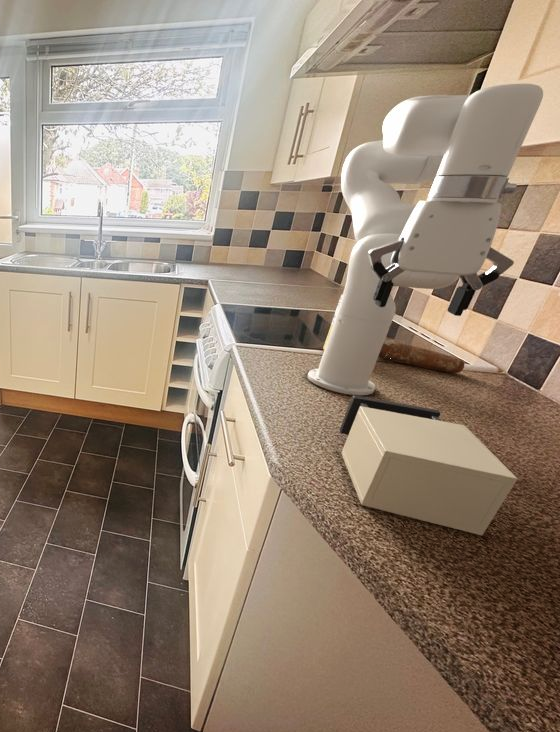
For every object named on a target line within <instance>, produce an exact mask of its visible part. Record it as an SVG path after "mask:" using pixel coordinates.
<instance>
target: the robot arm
mask: <svg viewBox="0 0 560 732" xmlns="http://www.w3.org/2000/svg"><path fill="white" fill-rule="evenodd" d="M543 98H544V89H543V88H542V87H541V86H540V85H537V84H534V83H507V84H499V85H493V86H487V87H484V88H481V89H478V90H476V91H475V92H473V93H471V94H461V95H460V94H457V95H456V94H455V95H453V94H452V95H450V94H435V95H418V96H413V97H410V98H408V99H404V100H403V101H401V102H399V103H398V104H396V105H395V106H394V107H393V108H392V109H391V110H390V111H389V112H388V113H387V114H386V115H385V118H384V120H383V122H382V128H381V129H382V130H381V131H382V135H383V136H382V140H381V139H380V140H374V141H368V142H364V143H362V144H360V145H357V146H356V147H355V148H353V149H352V150H351V151H350V152H349V154H347V156H346V158H345V160H344V162H343V165H342V169H341V176H340V177H341V178H340V189H341V193H342V196H343V199H344V201H345V203H346V205H347V207H348V209H349V210H350V213H351V220H352V228H353V229H352V230H353V235H354V239H355V243H356V244H355V245H354V246H353V248H352V250H351V253H350V256H349V260H348V268H347V274H346V280H345V283H344V284H345V285H344V288H343V292H342V295H343V296H342V299H341V302H340V305H339V308H338V311H337V314H336V317H335V320H334V323H333V326H332V329H331V332H330V335H329V338H328V341H327V344H326V347H325V350H323V354H322V356H321V359H320V363H319V364H318V365H319V366H318V368H313V369H310V370H309V371H308V373H307V379H308V380H309V381H310V382H311V383H313V384H314V385H316V386H318V387H320V388H322V389H325V390H327V391H331V392H335V393H339V394H343V395H349V396H353V395H355V396H369V395H372V394H374V392H375V390H376V385H375V383H373V382H372V381H371V380H370V379H371V376H372V373H373V370H374V368H375V366H376V364H377V360H378V358H379V357H378V356H379V353H380V351H381V348H382V346H383V343H384V341H385V338H386V337H387V336H388V333H389V330H390V327H391V325H392V322H393V320H394V318H395V315H396V311H397V306H396V302H395V300H394V298H393V296H392V294H391V292H392V289H393V287H402V288H413V289H423V290H424V289H425V290H439V289H443V288H447V287H449V286H451V285H453V284H454V283H455V282H457V281H458V280H459V279H460V281H461V283H462V285H459V286H458V287H456V289H455V292H454V294H453V296H452V298H451V301H450V303H449V305H448V307H447V310H446V311H447V312H448V313H449V314H451V315H453V316H456V317H457V316H458V317H461V316H462V314H463V312H464V311H467V310H468V308H469V307H470V304H471V302H472V300H473V298H474V296H475V293H476V291H479V290H481V289H482V288H483V287H484V286H486V285H488V284H490V283H492V282H494V281H496V280H498V279H499V277H500V276H501V275H503V274H504V273H505V272H506V271H507V270H509V269H510V268H511V267H513V265H514V264H515V261H514V260H513V259H512V258H510V257H508V256H506V255H505V254H503V253H501V252H500V251H499V250H496V249H495V248H493V247H491V246H492V243H493V241H494V238H495V235H496V232H497V228H498V225H499V221H500V216H501V210H502V203H500V202H499V203H497V202H498V200H499V199H501V198H502V196H505V195H513V194H514V193H515V192H516V190H517V187H518V184H517V183H511V182H510V181H509V180H510V178H509V175H510V173H511V171H512V168H513V166H514V164H515V161H516V160H517V157H518V155H519V153H520V150H521V148H522V146H523V145H524V142H525V139H526V137H527V135H528V132H529V131H530V128H531V126H532V124H533V122H534V119H535V118H536V116H537V115H536V114H537V112H538V110H539V108H540V106H541V104H542V101H543ZM433 178H434V180H433V183H432V185H431V188H430V191H429V193H428V196H427V198H426V200H419V201H418V202H417V204H411V203H402V201H401V197H400V195H399V194H400V193H398V190H396V189H395V188H394V187H393V186H392V185H390V184H402V185H403V184H404V185H418V184H425V183H427V182H430V181H431V180H432V179H433ZM486 259H487V260H488V261H490V262H491V263H493V264H492V266H491V267H490V269H488V270H486V271H484V272H482V273H480V274H478V272H479V271H480V270H481V269H482V267H483V265H484V263H485V262H486Z"/></svg>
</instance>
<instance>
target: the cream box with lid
mask: <svg viewBox="0 0 560 732" xmlns="http://www.w3.org/2000/svg"><path fill="white" fill-rule="evenodd" d="M340 453H341V456H342V459H343V461H344V464H345V467H346V469H347V471H348V474H349V477H350V479H351V482H352V485H353V487H354V490H355V492H356V496H357V498H358V500H359V503H360V505H361V506H364V507H367V508H372V509H375V510H380V511H383V512H388V513H392V514H395V515H399V516H403V517H407V518H411V519H415V520H419V521H423V522H426V523H431V524H435V525H439V526H443V527H446V528H450V529H454V530H458V531H462V532H467V533H470V534H474V535H478V536H483V535H484V533H485V531H487V529H488V527H489V525H490V524H491V522H492V521H493V519H494V517H495V516H496V514H497V513H498V512H499V510H500V508H501V506H502V504H504V501H505V500H506V498H507V497H508V495H509V494H510V492H511V490H512V489H513V487H514V485H515V484H516V482H517V481H518V477H517V476H516V475H515V474H513V473H512V471H510V469H509V468H508V467H507V466H506V465H505V464H503V462H501V460H500V459H499V458H497V456H496V455H495V454H493V452H492V451H490V449H489V448H488V447H487V446H486V445H485V444H484V443H483V442H482V441H481V440H480V439H479V438H478V437H477V436H476V435H475V434H474V433H473V432H472V431H471V430H470V429H469V428H468V427H467V426H466V425H465V424H459V423H454V422H449V421H443V420H441V421H438V420H433V419H428V418H422V417H417V416H411V415H406V414H400V413H395V412H389V411H384V410H379V409H373V408H368V407H362V406H360V407H359V410H358V412H357V415H356V417H355V420H354V422H353V425H352V428H351V430H350V433H349V435H347V438H346V440H345V442H344V446H343V448H342V450H341V452H340Z"/></svg>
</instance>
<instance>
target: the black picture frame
mask: <svg viewBox="0 0 560 732" xmlns="http://www.w3.org/2000/svg"><path fill="white" fill-rule="evenodd" d="M360 406H362V407H368V408H373V409H379V410H384V411H389V412H395V413H400V414H406V415H411V416H417V417H422V418H428V419H433V420H438V421H442V420H441V418H440V416H441V411H439V410H438V409H434V408H428V407H423V406H417V405H411V404H406V403H400V402H395V401H388V400H383V399H377V398H373V397H366V396H362V395H351V399H350V401H349V404H348V406H347V409H346V411H345V414H344V417H343V420H342V422H341V425H340V427H339V433H340V434H342V435H347V436H348V435H349V433H350V430H351V428H352V425H353V422H354V420H355V417H356V415H357V412H358V410H359V407H360Z"/></svg>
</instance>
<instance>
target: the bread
mask: <svg viewBox="0 0 560 732" xmlns="http://www.w3.org/2000/svg"><path fill="white" fill-rule="evenodd" d="M378 358H379V359H382V360H386V361H391V362H395V363H401V364H406V365H411V366H415V367H419V368H420V367H421V368H423V369H429V370H434V371H440V372H445V373H450V374H451V373H452V374H457V373H461V372H462V371H463V370H464V368H465V361H464V360H462V359H461V358H457V357H455V356H451V355H447V354H444V353H441V352H437V351H434V350H431V349H428V348H427V349H426V348H425V347H421V346H418V345H414V344H411V343H407V342H404V341H400V340H397V339H393V338H391V337H390V338H389V337H387V336H386V338H385V341H384V343H383V346H382V348H381V351H380V353H379V356H378ZM390 358H391V359H390Z"/></svg>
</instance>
